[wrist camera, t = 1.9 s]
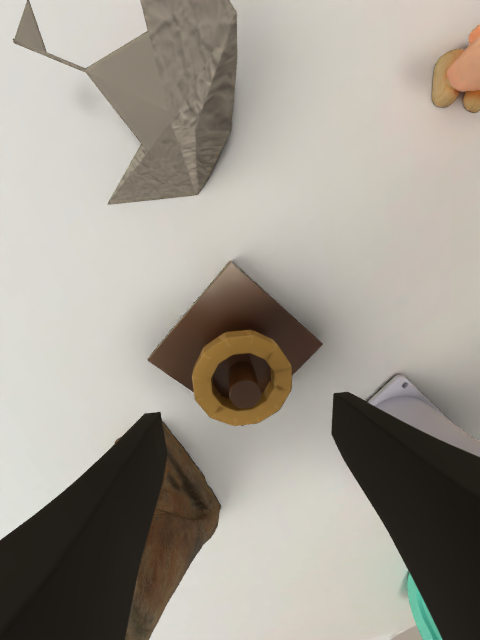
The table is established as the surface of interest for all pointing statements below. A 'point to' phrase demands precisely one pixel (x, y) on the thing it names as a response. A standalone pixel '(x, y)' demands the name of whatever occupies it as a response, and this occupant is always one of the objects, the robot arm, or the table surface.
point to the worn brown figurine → (171, 537)
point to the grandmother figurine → (459, 75)
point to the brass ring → (241, 344)
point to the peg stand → (226, 316)
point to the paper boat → (167, 92)
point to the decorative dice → (421, 613)
